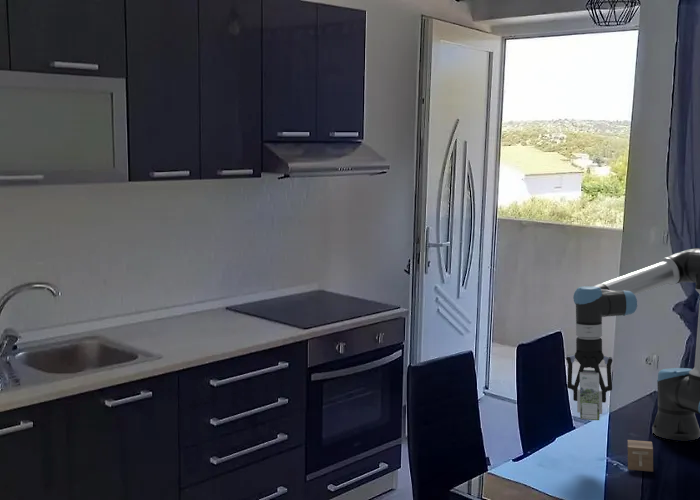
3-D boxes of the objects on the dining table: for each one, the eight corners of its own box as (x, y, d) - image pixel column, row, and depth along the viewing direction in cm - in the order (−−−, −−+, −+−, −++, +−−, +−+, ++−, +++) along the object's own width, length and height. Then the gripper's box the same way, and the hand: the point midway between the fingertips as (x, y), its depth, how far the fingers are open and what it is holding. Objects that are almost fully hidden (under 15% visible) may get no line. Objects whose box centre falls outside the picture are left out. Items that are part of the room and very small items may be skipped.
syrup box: (599, 415, 228) (599, 369, 227) (599, 421, 222) (599, 373, 221) (580, 414, 230) (579, 368, 229) (579, 419, 224) (579, 372, 223)
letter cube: (627, 461, 229) (627, 439, 228) (652, 464, 226) (651, 441, 226) (628, 470, 222) (627, 447, 222) (653, 472, 220) (653, 449, 219)
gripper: (556, 338, 224) (557, 413, 226) (621, 340, 218) (622, 417, 219) (558, 334, 231) (559, 406, 233) (621, 336, 225) (622, 410, 226)
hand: (589, 411), depth 226 cm, fingers closed on syrup box, 6 cm apart
